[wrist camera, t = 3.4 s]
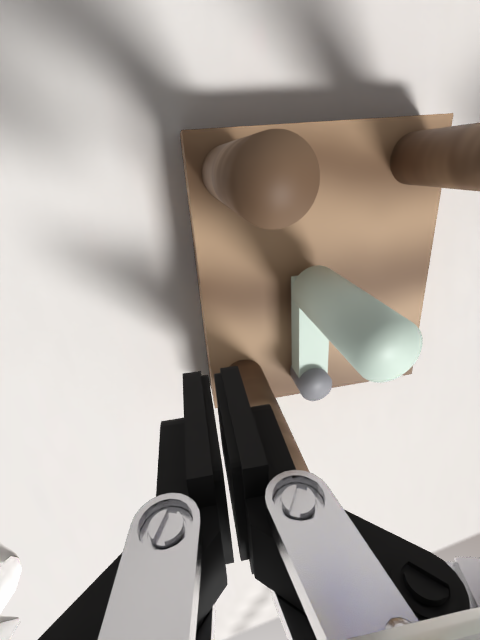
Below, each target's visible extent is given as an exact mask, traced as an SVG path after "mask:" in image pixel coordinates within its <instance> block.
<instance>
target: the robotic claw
mask: <svg viewBox="0 0 480 640" xmlns="http://www.w3.org/2000/svg"><path fill="white" fill-rule="evenodd" d="M21 571H22V566H21V563H20V560H19V558H17V557H12V556H10V557H9V558H8V559H7V560H6V561H4V562H3V563H2V564H1V565H0V613H1V612H2V610H3V608H4V607H5V605H6V604H7V602H8V601H9V599H10V598H11V596H12V595H13V593H14V592H15V590H16V588H17V584H18V581H19V577H20V574H21ZM19 623H20V620H19V618H17V619H13V620H9V621H5V622H1V623H0V640H10V639H11V637H12V635H13V633H14V632H15V630H16V628H17V627H18V625H19Z"/></svg>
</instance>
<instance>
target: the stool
mask: <svg viewBox="0 0 480 640" xmlns="http://www.w3.org/2000/svg"><path fill="white" fill-rule="evenodd" d="M452 119H453V113H450V114H433V115H417V116H401V117H385V118H369V119H352V120H336V121H320V122H304V123H288V124H272V125H255V126H239V127H223V128H207V129H191V130H182V131H181V133H180V138H181V146H182V155H183V163H184V171H185V179H186V187H187V195H188V203H189V212H190V220H191V228H192V236H193V244H194V252H195V260H196V269H197V277H198V285H199V293H200V301H201V309H202V317H203V326H204V334H205V342H206V350H207V358H208V366H209V374H210V382H211V389H212V394H213V399H214V404H215V408H218V406H217V398H216V389H215V381H214V374H217V373H220V368H225V367H232V366H238V368H239V372H240V375H241V378H242V381H243V384H244V388H245V391H246V394H247V397H248V401H249V404H250V407H253V406H259V405H265V404H270V405H271V407H272V410H273V412H274V415H275V417H276V420H277V422H278V425H279V427H280V430H281V432H282V435H283V437H284V440H285V443H286V445H287V448H288V450H289V453H290V455H291V458H292V460H293V463H294V465H295V468H296V470H303V471H306V472H309V470H308V468H307V466H306V464H305V461H304V459H303V457H302V455H301V453H300V450H299V448H298V446H297V444H296V442H295V440H294V437H293V435H292V433H291V431H290V429H289V427H288V424H287V422H286V420H285V418H284V416H283V414H282V411H281V409H280V407H279V405H278V403H277V400H276V398H277V397H282V396H288V395H294V394H299V393H300V391H299V389H298V388H297V386H296V384H295V383H294V381H293V379H292V377H291V375H290V368H291V365H292V334H291V276H298V275H299V274H300V273H301V272H303V271H304V270H305V269H307V268H309V267H312V266H317V265H320V266H326V267H328V268H330V269H331V270H333V271H334V272H336V273H337V274H339V275H341V276H342V277H344V278H345V279H347V280H348V281H350V282H351V283H353V284H354V285H356V286H357V287H359V288H361V289H362V290H364V291H365V292H367V293H368V294H370V295H371V296H373V297H374V298H376V299H377V300H379V301H380V302H382V303H384V304H385V305H387V306H388V307H390V308H391V309H393V310H394V311H396V312H397V313H399V314H400V315H402V316H404V317H405V318H407V319H408V320H410V321H411V322H413V323H414V324H415V325H416V326H417V327H418V328H419V324H420V318H421V312H422V306H423V299H424V293H425V287H426V281H427V275H428V268H429V262H430V256H431V250H432V243H433V237H434V231H435V225H436V219H437V212H438V206H439V200H440V194H441V188H450V189H461V190H472V191H480V123H475V124H467V125H459V126H451V125H452ZM412 368H413V366H412V367H411V368H410V369H409V370H408V371H407V372H406V373H404V374H403V375H408V374H412ZM328 375H329V376H330V377H331V379H332V388H334V387H339V386H345V385H351V384H357V383H362V382H368V381H369V380H366V379H365V378H363V377H362V376H361V375H360V374H359V373H358V372H357V370H356V369H355V368H354V367H353V366H352V365H351V364H350V363H349V362H348V361H347V359H346V358H345V357H344V356H343V355H342V354H341V353H340V352H339V351H338V350H337V348H336V347H335V346H334V345H333V344H332V343H331V342H330V341H329V352H328ZM401 376H402V375H401ZM309 473H310V472H309Z"/></svg>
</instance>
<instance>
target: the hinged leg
mask: <svg viewBox="0 0 480 640" xmlns="http://www.w3.org/2000/svg"><path fill="white" fill-rule="evenodd" d="M291 334H292V365H291V368H290V375H291V377H292V379H293V381H294V383H295V384H296V386H297V388H298V389H299V391H300V393H301V395H302V396H303V397H304V398H305V399H307V400H310V401H316V400H320V399H322V398H324V397H325V396H326V395H327V394H328V393H329V392H330V390H331V388H332V379H331V377H330V376H329V375H328V352H329V341H330V342H331V343H332V344H333V345H334V346H335V347H336V348H337V350H338V351H339V352H340V353H341V354H342V355H343V356H344V357H345V358H346V359H347V361H348V362H349V363H350V364H351V365H352V366H353V367H354V368H355V369H356V370H357V372H358V373H359V374H360V375H361V376H362V377H363V378H365V379H366V380H369V381H372V382H387V381H391V380H394V379H396V378H398V377H400V376H401V375H403V374H404V373H406V372H407V371H408V370H409V369H410V368H411V367H412V366H413V365H414V363H415V362H416V360H417V359H418V357H419V355H420V352H421V349H422V335H421V332H420V330H419V328H418V327H417V326H416V325H415V324H414V323H413V322H411V321H410V320H408V319H407V318H405V317H404V316H402V315H400V314H399V313H397V312H396V311H394V310H393V309H391V308H390V307H388V306H387V305H385V304H384V303H382V302H380V301H379V300H377V299H376V298H374V297H373V296H371V295H370V294H368V293H367V292H365V291H364V290H362V289H361V288H359V287H357V286H356V285H354V284H353V283H351V282H350V281H348V280H347V279H345V278H344V277H342V276H341V275H339V274H337V273H336V272H334V271H333V270H331V269H330V268H328V267H326V266H320V265H317V266H312V267H309V268H307V269H305V270H304V271H303V272H301V273H300V274H299V275H298V276H291Z"/></svg>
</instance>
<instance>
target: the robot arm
mask: <svg viewBox="0 0 480 640" xmlns="http://www.w3.org/2000/svg"><path fill="white" fill-rule="evenodd" d="M214 381H215V389H216V398H217V406H218V415H219V423H220V432H221V440H222V448H223V455H224V461H225V467H226V473H227V479H228V485H229V491H230V497H231V503H232V509H233V516H234V522H235V528H236V534H237V540H238V546H239V552H240V558H241V561H243V560H248V559H249V561H250V566H251V572H252V574H254V575H255V578H256V579H257V580H259V581H260V582H261V583H263V584H264V585H266V586H267V587H268V588H270V590H271V594H272V599H273V601H274V604H275V607H276V610H277V612H278V615H279V618H280V620H281V623H282V626H283V629H284V631H285V634H286V637H287V639H288V640H480V558H476V557H475V558H474V557H455V558H454V562H445V561H443V560H442V559H440V558H439V557H437V556H436V555H434V554H432V553H431V552H429V551H427V550H425V549H423V548H421V547H418V546H416V545H414V544H412V543H410V542H408V541H406V540H404V539H402V538H400V537H398V536H396V535H394V534H392V533H390V532H388V531H386V530H384V529H382V528H380V527H378V526H376V525H374V524H372V523H370V522H368V521H366V520H364V519H362V518H360V517H358V516H356V515H354V514H352V513H350V512H348V511H346V510H344V509H343V508H342V506H341V505H340V503H339V502H338V500H337V499H336V497H335V496H334V494H333V493H332V491H331V490H330V488H329V487H328V486H327V485H326V483H325V482H324V481H323V480H322V479H321V478H319V477H318V476H316V475H314V474H313V473H309V472H306V471H303V470H296V468H295V465H294V463H293V460H292V458H291V455H290V453H289V450H288V448H287V445H286V443H285V440H284V437H283V435H282V432H281V430H280V427H279V425H278V422H277V420H276V417H275V415H274V412H273V410H272V407H271V405H270V404H265V405H259V406H253V407H250V404H249V401H248V397H247V394H246V391H245V388H244V384H243V381H242V378H241V375H240V372H239V368H238V366H232V367H225V368H220V373H217V374H214ZM183 399H184V418H179V419H173V420H167V421H162V422H161V426H160V442H159V459H158V475H157V491H156V497H155V498H153V499H151V500H149V501H148V502H147V503H146V504H144V505H143V506H142V507H141V508H140V509H139V511H138V512H137V513H136V514H135V516H134V518H133V521H132V523H131V525H130V529H129V532H128V536H127V539H126V543H125V546H124V550H123V552H122V553H121V554H120V555H119V556H118V558H117V559H116V560H115V561H114V562H113V563H112V564H111V565H110V566H109V567H108V568H107V569H106V570H105V571H104V572H103V573H102V574H101V575H100V576H99V577H98V578H97V579H96V580H95V581H94V582H93V583H92V584H91V585H90V586H89V587H88V588H87V589H86V590H85V591H84V593H83V594H82V595H81V596H80V597H79V598H78V599H77V600H76V601H75V602H74V603H73V604H72V605H71V606H70V607H69V608H68V609H67V610H66V611H65V612H64V613H63V614H62V615H61V616H60V617H59V618H58V619H57V620H56V621H55V622H54V623H53V624H52V625H51V626H50V628H49V629H48V630H47V631H46V632H45V633H44V634H43V635H42V636H41V637H40V638H39V639H38V640H214V639H215V615H216V610H215V602H216V601H217V599H218V598H219V596H220V595H221V593H222V592H223V590H224V589H225V587H226V586H227V574H226V565H225V564H229V563H234V558H233V549H232V541H231V533H230V525H229V516H228V508H227V500H226V491H225V483H224V475H223V468H222V461H221V455H220V448H219V442H218V435H217V429H216V422H215V416H214V409H213V403H212V396H211V390H210V383H209V377H208V375H203V376H201V371H198V372H191V373H184V374H183Z"/></svg>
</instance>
